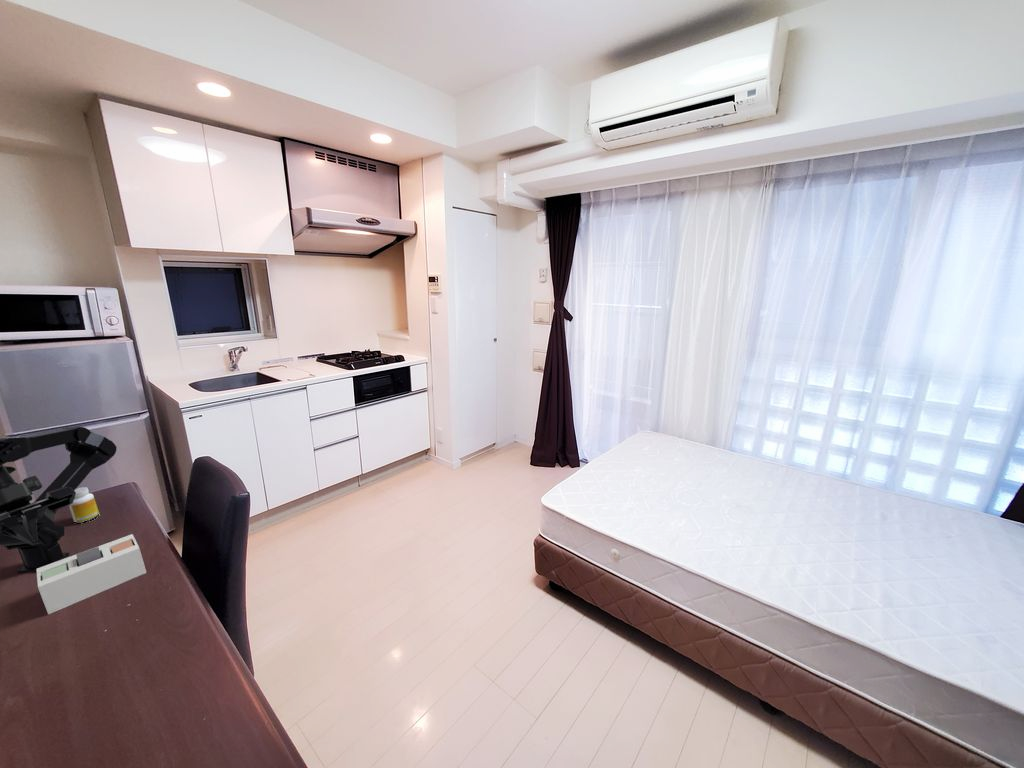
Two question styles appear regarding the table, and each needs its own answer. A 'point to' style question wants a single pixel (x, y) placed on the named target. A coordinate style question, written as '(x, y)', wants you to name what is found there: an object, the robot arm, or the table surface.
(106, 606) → the table surface
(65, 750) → the table surface
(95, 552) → the charcoal button
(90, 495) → the supplement bottle
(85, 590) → the button console
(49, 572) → the sage-green button
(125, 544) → the terracotta button
